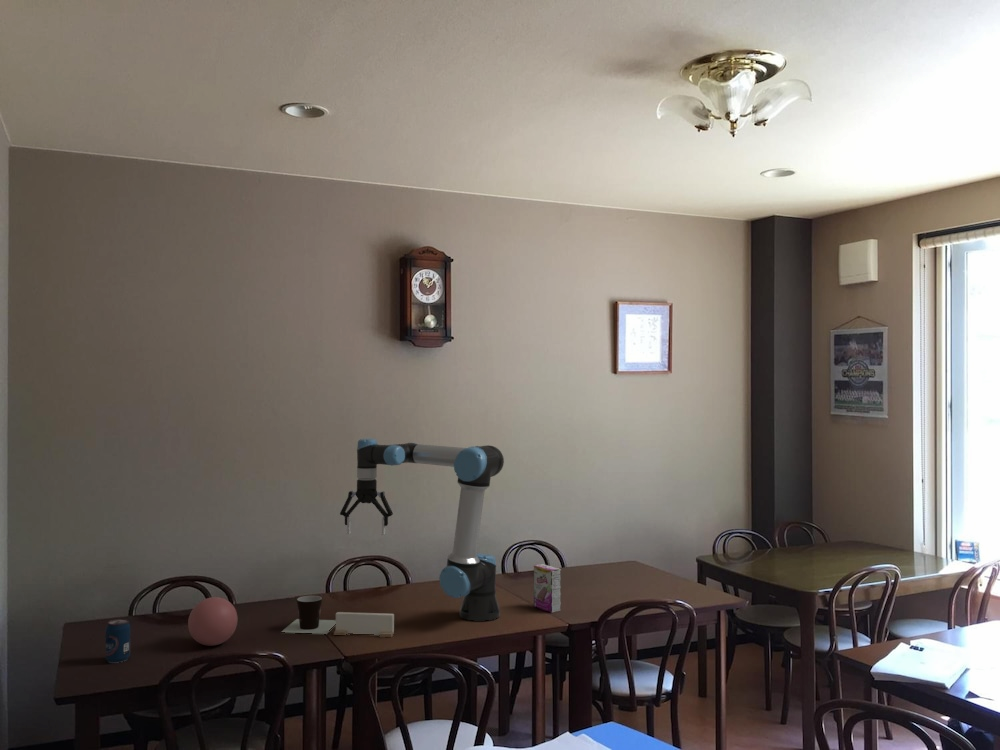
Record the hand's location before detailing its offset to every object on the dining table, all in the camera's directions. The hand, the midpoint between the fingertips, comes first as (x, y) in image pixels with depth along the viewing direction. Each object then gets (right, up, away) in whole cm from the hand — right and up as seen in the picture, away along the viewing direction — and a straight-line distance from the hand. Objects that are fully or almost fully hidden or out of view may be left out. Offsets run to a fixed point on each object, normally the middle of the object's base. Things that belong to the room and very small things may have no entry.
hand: (366, 534), depth 313 cm
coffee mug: (-15, -28, -25) cm, 41 cm away
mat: (-15, -28, -25) cm, 41 cm away
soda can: (-67, -27, -62) cm, 95 cm away
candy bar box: (+70, -29, +1) cm, 76 cm away
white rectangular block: (+5, -28, -33) cm, 44 cm away
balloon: (-44, -28, -44) cm, 68 cm away
